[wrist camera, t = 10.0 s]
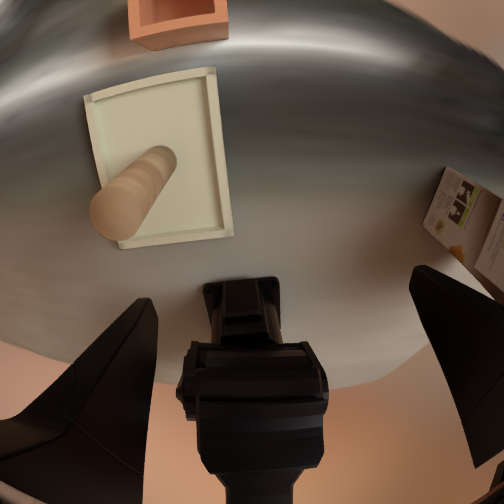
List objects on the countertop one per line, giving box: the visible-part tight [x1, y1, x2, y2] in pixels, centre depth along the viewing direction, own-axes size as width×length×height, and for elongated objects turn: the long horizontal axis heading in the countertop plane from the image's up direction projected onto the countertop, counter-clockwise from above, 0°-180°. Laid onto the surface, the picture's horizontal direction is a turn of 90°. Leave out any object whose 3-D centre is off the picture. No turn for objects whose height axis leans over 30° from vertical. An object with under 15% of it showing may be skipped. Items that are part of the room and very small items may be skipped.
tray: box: [84, 66, 234, 250], centre depth 19 cm, size 12×9×1 cm
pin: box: [89, 145, 177, 241], centre depth 15 cm, size 2×2×9 cm
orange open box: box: [128, 0, 229, 51], centre depth 11 cm, size 5×5×5 cm
